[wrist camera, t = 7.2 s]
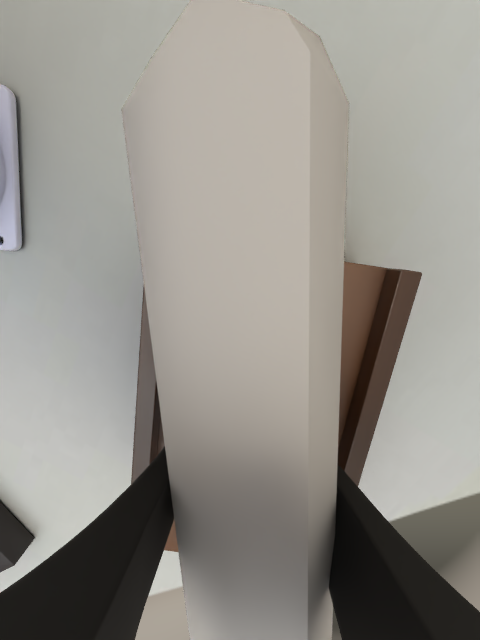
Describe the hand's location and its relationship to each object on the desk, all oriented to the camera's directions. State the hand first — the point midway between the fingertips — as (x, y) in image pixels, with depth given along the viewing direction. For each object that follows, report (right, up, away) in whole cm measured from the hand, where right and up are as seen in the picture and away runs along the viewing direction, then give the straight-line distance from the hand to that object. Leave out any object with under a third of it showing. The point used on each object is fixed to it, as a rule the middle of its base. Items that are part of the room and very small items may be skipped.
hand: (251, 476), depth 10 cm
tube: (0, 0, +2) cm, 2 cm away
